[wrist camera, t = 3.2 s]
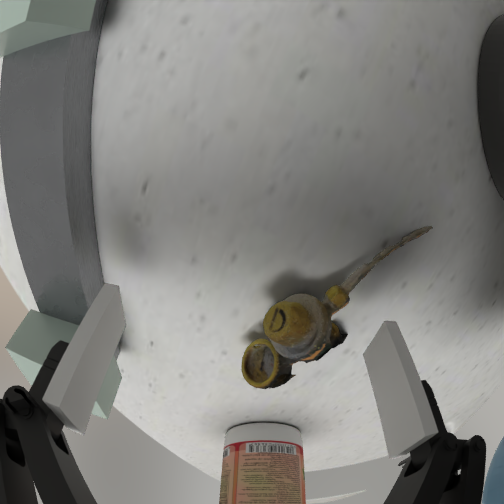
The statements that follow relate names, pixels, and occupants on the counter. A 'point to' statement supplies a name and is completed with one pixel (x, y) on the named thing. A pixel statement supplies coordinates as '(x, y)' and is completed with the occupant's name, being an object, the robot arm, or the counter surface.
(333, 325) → the regulator
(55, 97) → the rail
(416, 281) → the counter surface
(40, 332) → the mounted modules
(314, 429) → the counter surface
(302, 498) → the fruit juice
